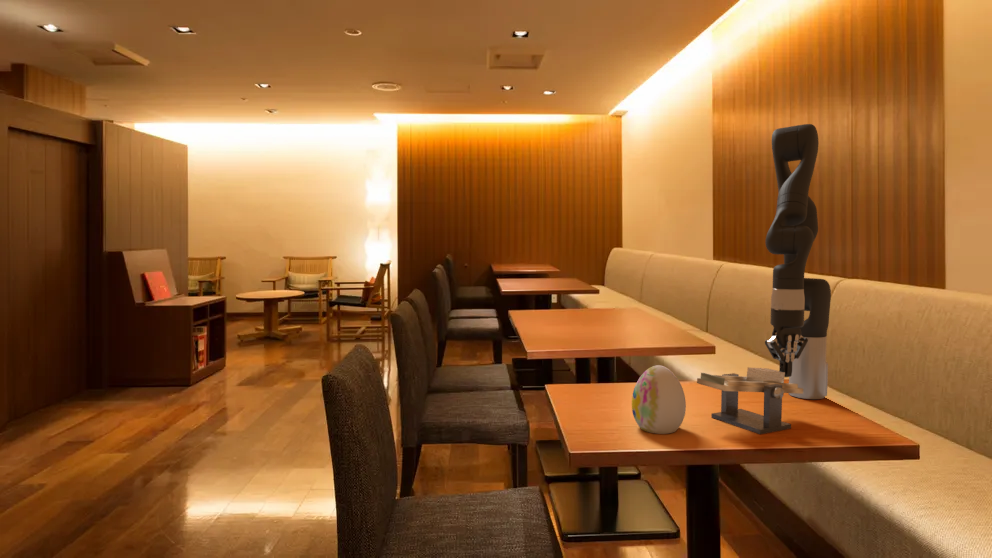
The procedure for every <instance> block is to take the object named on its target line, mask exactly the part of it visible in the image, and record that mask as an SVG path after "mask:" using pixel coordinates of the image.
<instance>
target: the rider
mask: <svg viewBox="0 0 992 558" xmlns="http://www.w3.org/2000/svg"><path fill="white" fill-rule="evenodd" d="M784 376H785V372H781V371H779V370H776V369H772V368H764V367H763V368H762V367H749V366H748V367H747V371H746V377H747V378H746V382H770V383H785V377H784Z"/></svg>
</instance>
